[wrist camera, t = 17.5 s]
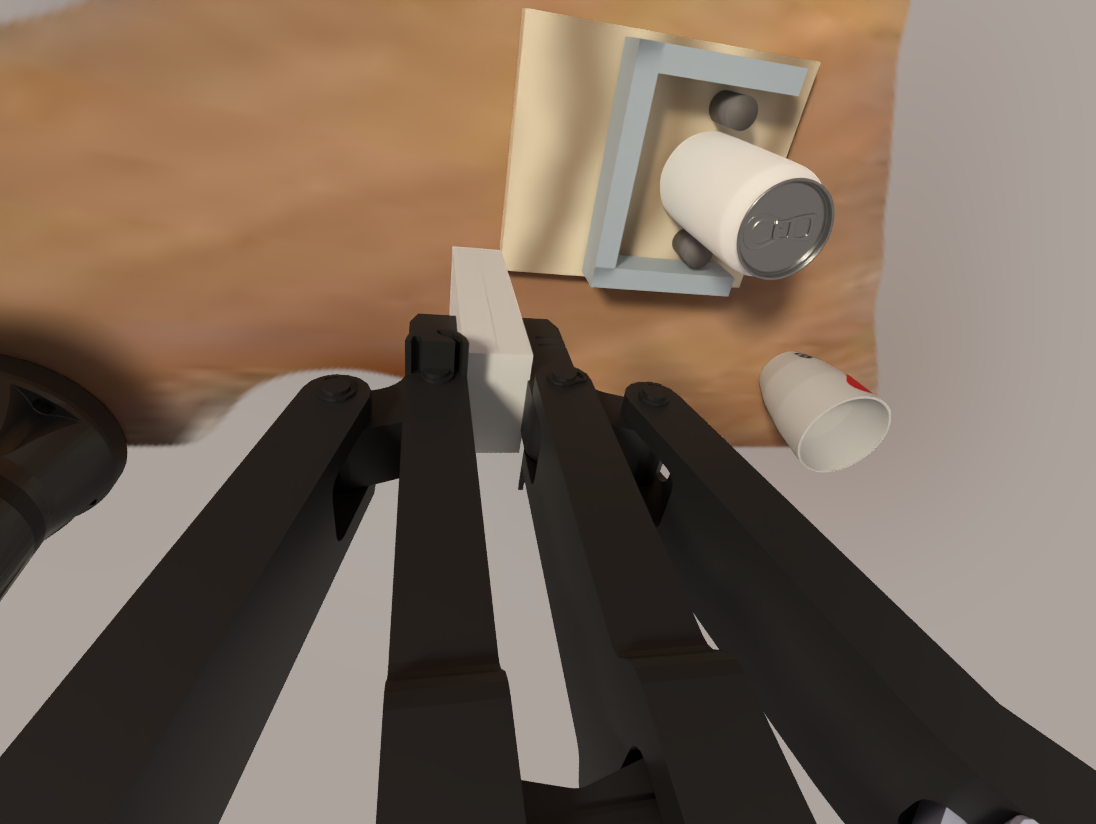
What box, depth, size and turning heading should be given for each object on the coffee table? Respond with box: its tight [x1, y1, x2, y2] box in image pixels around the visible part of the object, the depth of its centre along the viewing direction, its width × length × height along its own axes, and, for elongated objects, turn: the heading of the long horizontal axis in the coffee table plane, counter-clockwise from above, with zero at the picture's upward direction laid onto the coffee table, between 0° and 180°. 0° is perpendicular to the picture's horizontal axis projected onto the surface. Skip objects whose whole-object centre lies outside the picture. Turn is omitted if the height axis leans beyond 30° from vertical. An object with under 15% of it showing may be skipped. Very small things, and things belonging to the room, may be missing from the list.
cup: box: [759, 351, 891, 472], centre depth 50 cm, size 8×8×10 cm
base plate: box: [500, 8, 820, 288], centre depth 38 cm, size 20×16×4 cm
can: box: [660, 131, 834, 280], centre depth 35 cm, size 6×6×12 cm
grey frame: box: [582, 36, 808, 296], centre depth 38 cm, size 11×15×3 cm
